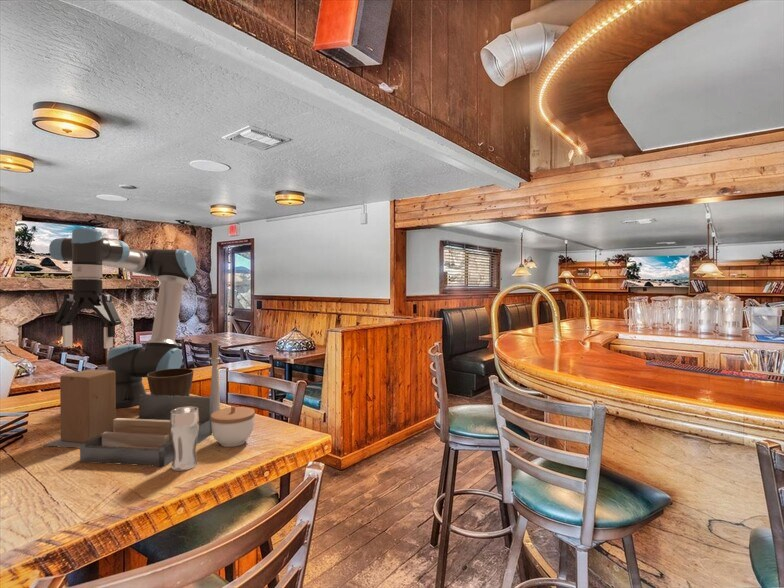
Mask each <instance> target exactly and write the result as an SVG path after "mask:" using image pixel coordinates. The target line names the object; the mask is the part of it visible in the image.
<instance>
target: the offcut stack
mask: <svg viewBox="0 0 784 588" xmlns="http://www.w3.org/2000/svg"><path fill="white" fill-rule="evenodd" d="M169 441H171V437H170V420H151V419H135V418H125V417H124V418H123V417H117V418H116V417H115V419H114V420H113V432H104V433H102V446H110V447H130V448H150V449H159V447H161V446H163V445H164V444H166V443H167V442H169Z"/></svg>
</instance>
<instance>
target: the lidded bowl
mask: <svg viewBox="0 0 784 588" xmlns="http://www.w3.org/2000/svg"><path fill="white" fill-rule="evenodd" d="M255 415H256V411H255V409H253V408H251V407H247V406H235V405H232V406H230V407H226V408H220V410H218V411H215V412H213V413H212V414H211V428H212V436H213V438H214V439H215V440H216V442H218V443H219V444H220V446H222V447H226V448H233V447H239V446H241V445H243V444H245V443H246V440H248V438H250V436H251V434H252V433H253V429H254V425H255Z"/></svg>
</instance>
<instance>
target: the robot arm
mask: <svg viewBox="0 0 784 588" xmlns="http://www.w3.org/2000/svg"><path fill="white" fill-rule="evenodd" d="M71 233H72V234H71V237H70V238H69V237H62V238H60V237H59V238H55V239H53V240H51V242H50V244H49V246H48V247H49V250H48V251H49V255H50V256H51V257H52V258H53V259H54V260H56V261H63V262H71V269H72V270H71V271H72V274H71V277H72V278H74V279H72V280H71V290H72V291H73V293H65V294H64V295H63V300H62V303H61V305H60V308H59V309H58V311H57V314H56V316H55V319H54V321H53V323H54V324H57V325H59V326H60V335H61V337H62V348H68V347H73V325H72V322H73V321H74V319H75V318H76V317H77V316H78V315H79V313H80V312H82V310H85V309H86V310H92V311H94V313H96V314H97V316H98V317H99V318H100V320H101V321H102V322H103V323H104V325H105V326H104V327H103V349H109V350H108V352H107V359H106V361H107V370H111V371H115V409H120V408H121V409H122V408H130V407H134V406H139V395H142V394H147V391H146V389H145V386H144V385H145V384H144V383H143V378H147V374H149V373H151V372H154V371H159V370H166V369H178V368H181V367H182V363H183V352H182V350H181V349H180V348H179V344H178V343H177V342H176V334H177V329H178V323H179V322H178V321H179V315H180V311H181V303H182V298H183V291H184V286H185V285H186V284H188V283H189V278H192V277H194V276H195V274H196V272H197V271H196V270H197V263H196V260H195V258H194V255H193V254H192V252H191V251H189V250H186V249H180V248H177V249H176V248H175V249H173V248H171V249H164V248H163V249H162V248H161V249H160V248H159V249H158V248H156V249H155V248H153V249H136V248H131V249H130V247H129V245H128V244H127V243H126V242H125V241H122V240H119V238H118V239H117V238H114V239H113V238H108V237H107V238H106V237H104V235H103V232H102V230H100V229H97V228H88V227H76V228H73V229H72V232H71ZM103 266H105V267H114V268H119V269H124V270H126V271H127V272H130V273H136V274H141V275H146V276H151V277H156V278H157V280H159V282H160V285H159V290H158V296H157V301H156V302H157V303H156V306H155V307H156V308H155V314H154V320H153V325H152V331H151V336H150V339H148V340H147V341H146V342H145V346H144V347H143V345H142V344H141V343H136V344H127V345H126V344H125V345H121V346H116V347H114V337H115V336H116V326H118V325H121V324H122V320H121V318H120V316H119V314H118V312H117V310H116V308H115V306H114V302H113V301H112V300H113V299H112V295H111V294H101V292H102V291H103V280H102V278H103V275H104V274H103Z"/></svg>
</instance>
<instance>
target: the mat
mask: <svg viewBox="0 0 784 588" xmlns="http://www.w3.org/2000/svg"><path fill="white" fill-rule="evenodd" d="M80 444H81V443H78V442H68V441H61V437H59V438H56V439H54V440H51V441H50V442H47V443H45V444H43V445H42V446H43V447H47V446H60V447H59V448H67V447H80Z"/></svg>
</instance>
